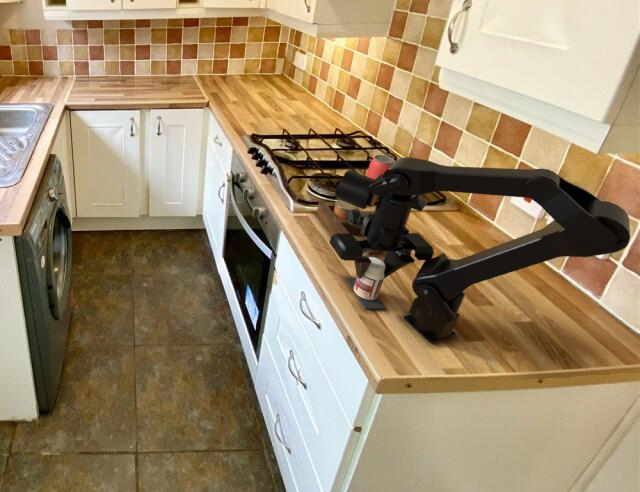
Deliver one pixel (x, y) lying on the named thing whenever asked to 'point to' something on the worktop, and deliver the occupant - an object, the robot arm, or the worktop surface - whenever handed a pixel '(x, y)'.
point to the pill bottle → (370, 280)
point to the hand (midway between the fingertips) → (370, 277)
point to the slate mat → (366, 303)
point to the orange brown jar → (342, 208)
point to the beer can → (379, 165)
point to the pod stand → (337, 222)
